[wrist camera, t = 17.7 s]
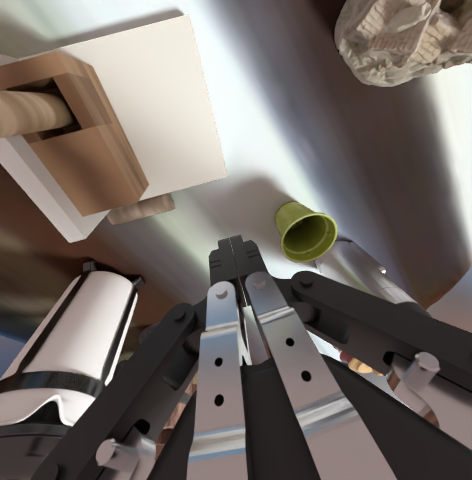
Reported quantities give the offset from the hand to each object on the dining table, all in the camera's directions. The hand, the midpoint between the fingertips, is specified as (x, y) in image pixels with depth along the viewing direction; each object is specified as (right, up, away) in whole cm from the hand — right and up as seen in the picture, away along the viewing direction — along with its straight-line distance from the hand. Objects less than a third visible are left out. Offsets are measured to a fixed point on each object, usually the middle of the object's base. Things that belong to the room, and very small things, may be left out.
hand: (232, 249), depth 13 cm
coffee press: (-27, -10, +30) cm, 41 cm away
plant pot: (+11, +5, +27) cm, 29 cm away
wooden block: (-15, +5, +21) cm, 26 cm away
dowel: (-18, +15, +10) cm, 26 cm away
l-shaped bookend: (-13, +16, +15) cm, 26 cm away
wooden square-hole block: (-18, +14, +14) cm, 26 cm away
